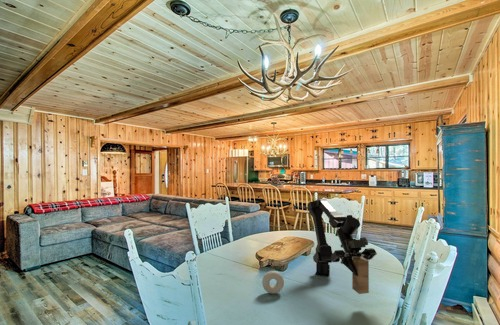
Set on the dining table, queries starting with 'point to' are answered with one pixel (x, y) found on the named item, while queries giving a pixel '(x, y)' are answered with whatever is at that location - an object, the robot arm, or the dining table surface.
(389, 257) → the dining table surface
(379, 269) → the dining table surface
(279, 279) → the donut
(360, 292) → the walnut block
